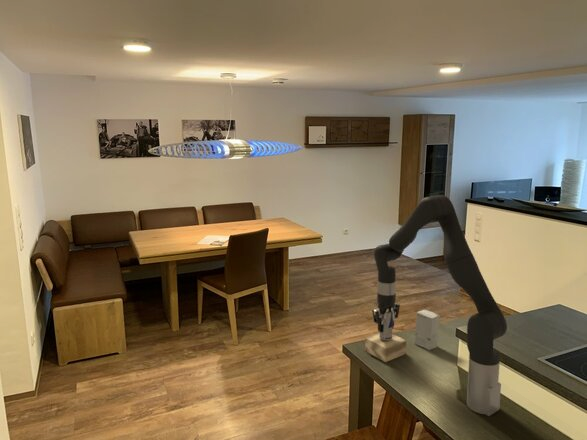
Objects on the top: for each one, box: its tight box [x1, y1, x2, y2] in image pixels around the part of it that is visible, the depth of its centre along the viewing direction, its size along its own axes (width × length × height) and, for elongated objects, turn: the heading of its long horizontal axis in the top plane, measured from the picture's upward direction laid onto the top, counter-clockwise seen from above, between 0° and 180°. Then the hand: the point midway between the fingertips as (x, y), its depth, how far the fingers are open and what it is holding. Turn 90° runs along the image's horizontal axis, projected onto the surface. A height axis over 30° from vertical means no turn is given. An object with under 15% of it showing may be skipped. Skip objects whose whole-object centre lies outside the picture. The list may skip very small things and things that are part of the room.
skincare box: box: [414, 309, 441, 351], centre depth 190 cm, size 8×6×15 cm
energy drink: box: [378, 312, 393, 340], centre depth 184 cm, size 5×5×12 cm
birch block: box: [364, 332, 407, 363], centre depth 185 cm, size 12×12×6 cm
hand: (385, 330), depth 184 cm, fingers closed on energy drink, 5 cm apart
